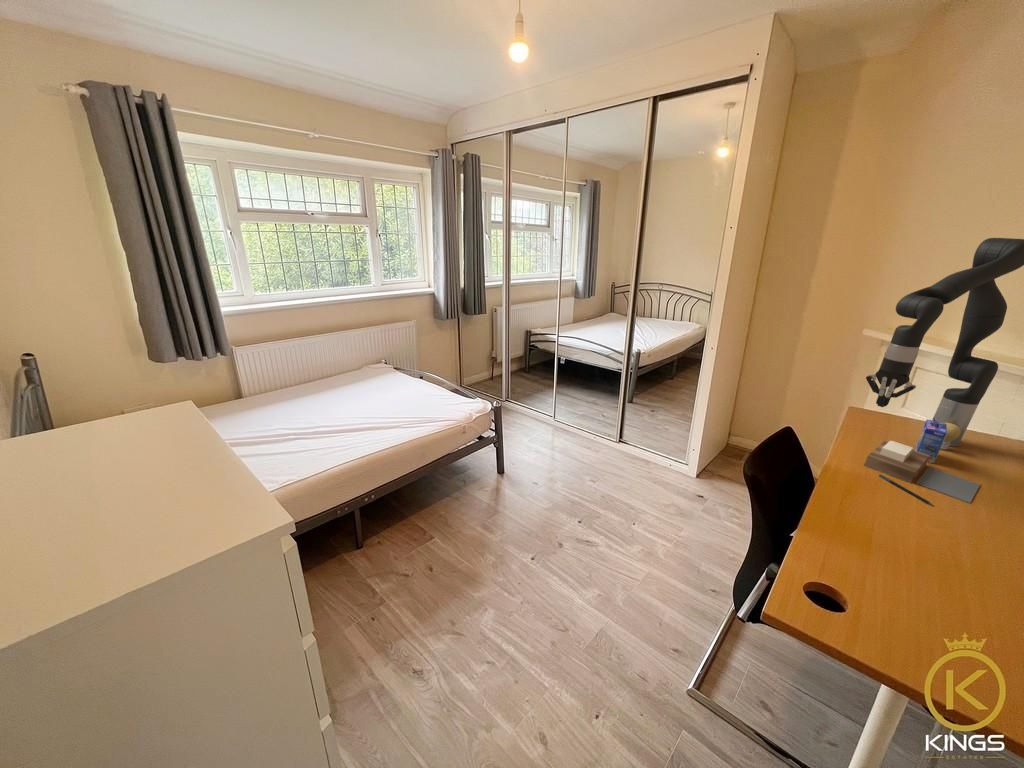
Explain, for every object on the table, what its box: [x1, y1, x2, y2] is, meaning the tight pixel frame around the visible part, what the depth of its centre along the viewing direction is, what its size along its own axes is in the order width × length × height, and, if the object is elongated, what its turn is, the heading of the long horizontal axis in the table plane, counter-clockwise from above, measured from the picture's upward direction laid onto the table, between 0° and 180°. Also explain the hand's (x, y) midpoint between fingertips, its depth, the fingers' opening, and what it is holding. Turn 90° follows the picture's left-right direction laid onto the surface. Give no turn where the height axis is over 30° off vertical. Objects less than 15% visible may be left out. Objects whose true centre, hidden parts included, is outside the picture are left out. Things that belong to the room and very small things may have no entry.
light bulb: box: [940, 423, 961, 450], centre depth 147 cm, size 6×6×10 cm
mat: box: [915, 466, 981, 504], centre depth 127 cm, size 16×12×1 cm
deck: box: [863, 440, 930, 483], centre depth 137 cm, size 18×12×4 cm, turn 125°
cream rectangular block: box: [880, 439, 914, 462], centre depth 136 cm, size 9×6×2 cm, turn 125°
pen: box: [878, 474, 934, 507], centre depth 124 cm, size 1×16×1 cm, turn 10°
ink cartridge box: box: [914, 416, 947, 464], centre depth 141 cm, size 10×6×14 cm, turn 136°
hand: (880, 406), depth 137 cm, fingers closed
